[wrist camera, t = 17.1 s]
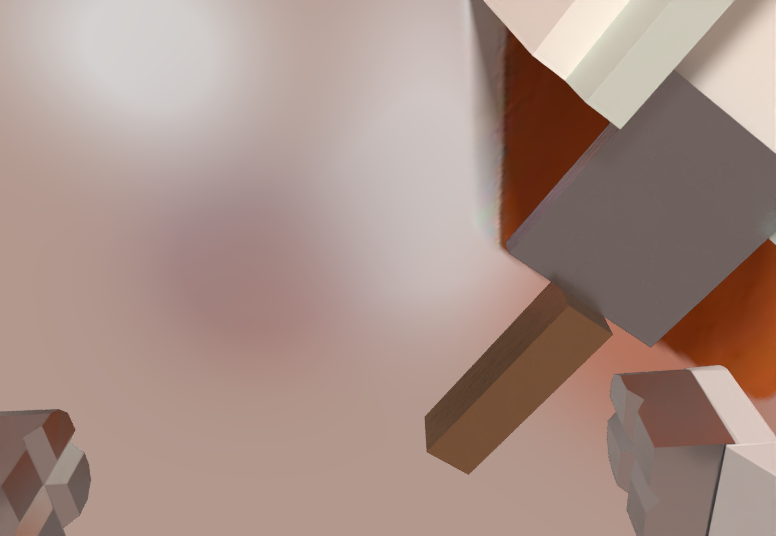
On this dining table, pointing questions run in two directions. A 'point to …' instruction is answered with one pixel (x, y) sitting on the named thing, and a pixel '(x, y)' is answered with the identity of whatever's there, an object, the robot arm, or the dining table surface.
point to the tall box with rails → (656, 52)
